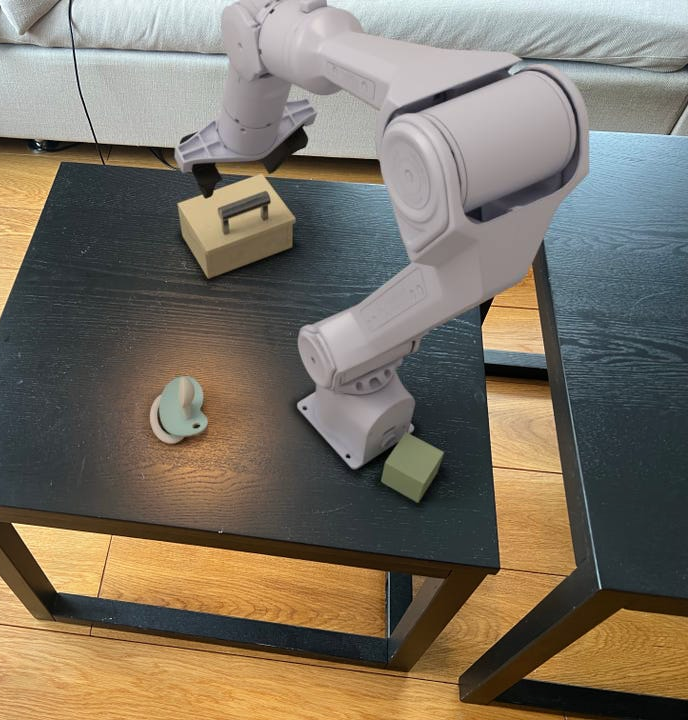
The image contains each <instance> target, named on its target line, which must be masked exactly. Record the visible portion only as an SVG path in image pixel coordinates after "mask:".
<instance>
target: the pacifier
mask: <svg viewBox="0 0 688 720" xmlns="http://www.w3.org/2000/svg"><path fill="white" fill-rule="evenodd" d="M203 403H204V391H203V387H202V386H201V384H200V383H199V382H198V381H197V380H196V379H195V378H193V377H192V376H186V375H182V376H177V377H175V378H173V379H172V380H171V381H170V382H168V383H167V384H166V385H165V387H164V389H162V393H161V394H159V395H158V396H157V397H156V398H155V399H154V401H153V402H152V404H151V407H150V412H149V422H150V427H151V429H152V432H153V434H154V435H155V436H156V437H157V439H159V440H160V441H161V442H163V443H165V444H171V445H173V444H177V443H179V442H181V441H182V440H183V439H184V438H185V437H193V436H197V435H199V434H201V433H203V432H204V431H205V430H206V429H207V427H208V417H207V416H206V415H205V414H204V412H202V410H201V408H202V406H203ZM159 418H160V423H161V424H162V427H163V428H164V429H165V431H164V430H163V429H162V428H161V425H160V424H159ZM197 425H198V426H199V427H197V428H195V426H197Z"/></svg>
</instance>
